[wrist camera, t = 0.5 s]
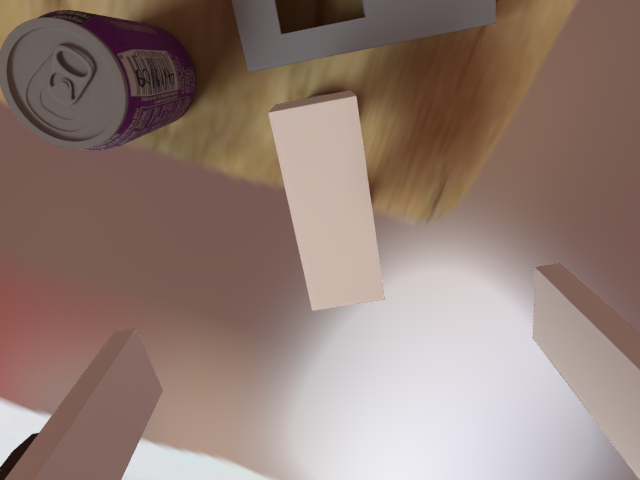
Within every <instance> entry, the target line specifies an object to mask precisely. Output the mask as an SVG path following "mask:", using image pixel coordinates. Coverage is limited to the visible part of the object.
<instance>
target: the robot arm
mask: <svg viewBox="0 0 640 480" xmlns="http://www.w3.org/2000/svg"><path fill="white" fill-rule="evenodd" d="M534 287H535V288H534V315H533V339H534V340H535V342H536V343H537V344H538V346H539V347H540V348H541V349H542V351H543V352H544V354H545V355H546V356H547V358H548V359H549V360H550V362H551V363H552V364H553V366H554V367H555V368H556V369H557V371H558V372H559V374H560V375H561V376H562V378H563V379H564V380H565V382H566V383H567V384H568V386H569V387H570V388H571V389H572V391H573V392H574V394H575V395H576V396H577V397H578V399H579V400H580V401H581V403H582V404H583V405H584V407H585V408H586V409H587V411H588V412H589V413H590V415H591V416H592V417H593V419H594V420H595V421H596V423H597V424H598V425H599V427H600V428H601V429H602V430H603V432H604V433H605V435H606V436H607V437H608V438H609V440H610V441H611V442H612V444H613V445H614V447H615V448H616V449H617V451H618V452H619V453H620V454H621V456H622V457H623V459H624V460H625V461H626V462H627V464H628V465H629V467H630V468H631V469H632V470H633V472H634V473H635V474H636V476H637V477H638V478H639V480H640V332H639V331H638V330H636V329H635V328H634V327H633V326H632V325H631V324H630V323H628V322H627V321H626V320H625V319H624V318H623V317H621V316H620V315H619V314H618V313H617V312H616V311H614V310H613V309H612V308H611V307H610V306H609V305H608V304H606V303H605V302H604V301H603V300H602V299H600V297H598V296H597V295H596V294H595V293H593V292H592V291H591V290H590V289H589V288H588V287H587V286H586V285H584V284H583V283H582V282H581V281H580V280H578V278H576V277H575V276H574V275H573V274H572V273H571V272H569V271H568V270H567V269H566V268H565V267H564V266H563V265H561V264H560V263H559V264H553V265H546V266H539V267H535V286H534ZM162 391H163V390H162V388H161V385H160V383H159V380H158V378H157V376H156V374H155V371H154V368H153V366H152V364H151V361H150V359H149V357H148V354H147V352H146V350H145V347H144V345H143V343H142V340H141V338H140V336H139V333H138V331H137V329H136V328H133V329H126V330H120V331H114V333H113V334H112V335H111V337H110V338H109V340H108V341H107V342H106V343H105V345H104V346H103V347H102V349H101V350H100V352H99V353H98V354H97V356H96V357H95V359H94V360H93V361H92V362H91V364H90V365H89V366H88V368H87V369H86V370H85V372H84V373H83V374H82V376H81V377H80V379H79V380H78V381H77V383H76V384H75V385H74V387H73V388H72V389H71V391H70V392H69V393H68V395H67V396H66V397H65V399H64V400H63V402H62V403H61V404H60V406H59V407H58V409H57V410H56V411H55V412H54V414H53V415H52V416H51V418H50V419H49V420H48V422H47V423H46V424H45V426H44V427H43V428H42V430H41V431H40V433H36V434H32V435H31V436H30V437H28V438H27V439H26V440H25V441H24V442H23V443H22V444H20V445H19V446H18V447H17V448H16V449H15V450H14V451H13V452H12V453H11V454H10V456H9V457H8V458H7V459H6V461H5V462H4V463H3V465H2V466H1V467H0V480H121V479H122V477H123V474H124V472H125V470H126V468H127V466H128V464H129V462H130V459H131V457H132V455H133V453H134V451H135V449H136V447H137V444H138V442H139V440H140V438H141V436H142V434H143V431H144V429H145V427H146V425H147V423H148V421H149V419H150V417H151V414H152V412H153V410H154V408H155V406H156V404H157V402H158V399H159V397H160V395H161V393H162Z"/></svg>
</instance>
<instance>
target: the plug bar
mask: <svg viewBox="0 0 640 480" xmlns="http://www.w3.org/2000/svg"><path fill="white" fill-rule="evenodd" d="M268 113H269V118H270V122H271V127H272V131H273V136H274V140H275V145H276V149H277V154H278V158H279V163H280V167H281V172H282V176H283V181H284V185H285V190H286V194H287V199H288V203H289V208H290V212H291V217H292V221H293V226H294V230H295V235H296V239H297V244H298V248H299V253H300V257H301V262H302V266H303V271H304V275H305V280H306V284H307V289H308V293H309V298H310V302H311V307H312V311H314V310H320V309H327V308H333V307H340V306H346V305H352V304H359V303H365V302H372V301H379V300H384V299H385V298H384V291H383V283H382V276H381V269H380V263H379V255H378V248H377V241H376V233H375V226H374V219H373V212H372V204H371V197H370V190H369V183H368V176H367V169H366V161H365V154H364V147H363V140H362V133H361V126H360V118H359V111H358V104H357V97H356V95H355V94H354V93H353V92H352V91H351V90H349V91H343V92H338V93H333V94H328V95H323V94H318V95H313V96H311V97H308V98H307V99H302V100H296V101H291V102H286V103H281V104H276V105H275V106H274V107H273V108H272V109H271V110H270V111H269V112H268Z"/></svg>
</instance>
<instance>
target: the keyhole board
mask: <svg viewBox="0 0 640 480" xmlns="http://www.w3.org/2000/svg"><path fill="white" fill-rule="evenodd" d="M231 1H232V5H233V9H234V14H235V18H236V22H237V27H238V31H239V35H240V40H241V44H242V48H243V53H244V57H245V61H246V65H247V70H248V72H253V71H258V70H263V69H268V68H273V67H278V66H283V65H288V64H293V63H298V62H303V61H308V60H313V59H318V58H323V57H328V56H333V55H339V54H344V53H349V52H354V51H359V50H364V49H369V48H374V47H379V46H384V45H389V44H394V43H399V42H404V41H409V40H414V39H419V38H425V37H430V36H435V35H440V34H445V33H450V32H455V31H460V30H465V29H470V28H475V27H480V26H485V25H490V24H495V23H496V0H362V5H363V13H364V18H359V19H354V20H349V21H344V22H339V23H334V24H330V25H325V26H320V27H315V28H310V29H305V30H300V31H295V32H290V33H285V34H282V31H281V26H280V21H279V15H278V10H277V5H276V0H231Z"/></svg>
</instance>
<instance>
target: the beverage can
mask: <svg viewBox="0 0 640 480" xmlns="http://www.w3.org/2000/svg"><path fill="white" fill-rule="evenodd" d="M0 85H1V89H2V92H3V95H4V97H5V99H6V101H7V103H8V105H9V107H10V109H11V110H12V112H13V113H14V114H15V116H16V117H17V118H18V119H19V121H20V122H21V123H22V124H23V125H24V126H25V127H26V128H27V129H28V130H30V131H31V132H32V133H33V134H35V135H36V136H38V137H39V138H41V139H43V140H45V141H46V142H48V143H50V144H53V145H56V146H59V147H63V148H68V149H83V150H89V151H102V150H108V149H112V148H116V147H118V146H121V145H123V144H125V143H127V142H130V141H132V140H134V139H136V138H139V137H141V136H143V135H145V134H148V133H150V132H152V131H154V130H157V129H159V128H161V127H163V126H166V125H168V124H170V123H172V122H174V121H176V120H178V119H179V118H180V117H182V116H183V115H184V114H185V113H186V111H187V110H188V109H189V107H190V105H191V103H192V101H193V98H194V95H195V88H196V78H195V71H194V67H193V64H192V62H191V59H190V57H189V55H188V53H187V52H186V50H185V49H184V47H183V46H182V45H181V44H180V42H179V41H178V40H177V39H176V38H175V37H173V36H172V35H171V34H170V33H168V32H167V31H165V30H163V29H161V28H159V27H156V26H154V25H150V24H145V23H139V22H134V21H128V20H123V19H118V18H112V17H107V16H101V15H96V14H91V13H85V12H80V11H72V10H62V11H54V12H50V13H47V14H44V15H42V16H40V17H38V18H36V19H32V20H29V21H26V22H24V23H22V24H21V25H19V26H17V27H16V28H15V29H14V30H13V31H12V32H11V33H10V34H9V35H8V37H7V38H6V40H5V41H4V43H3V46H2V48H1V51H0Z"/></svg>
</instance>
